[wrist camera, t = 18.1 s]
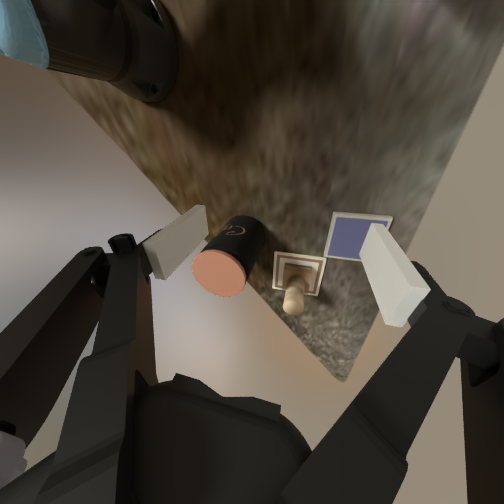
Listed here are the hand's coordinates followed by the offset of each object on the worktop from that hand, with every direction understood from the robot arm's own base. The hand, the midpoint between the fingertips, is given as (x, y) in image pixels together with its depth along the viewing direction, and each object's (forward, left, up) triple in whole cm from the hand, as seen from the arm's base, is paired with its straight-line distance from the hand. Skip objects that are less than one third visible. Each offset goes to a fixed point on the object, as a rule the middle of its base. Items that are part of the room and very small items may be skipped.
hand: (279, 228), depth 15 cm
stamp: (+11, -24, -28) cm, 38 cm away
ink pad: (+17, -8, -28) cm, 34 cm away
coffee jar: (-6, -19, -28) cm, 34 cm away
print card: (+11, -24, -28) cm, 39 cm away
